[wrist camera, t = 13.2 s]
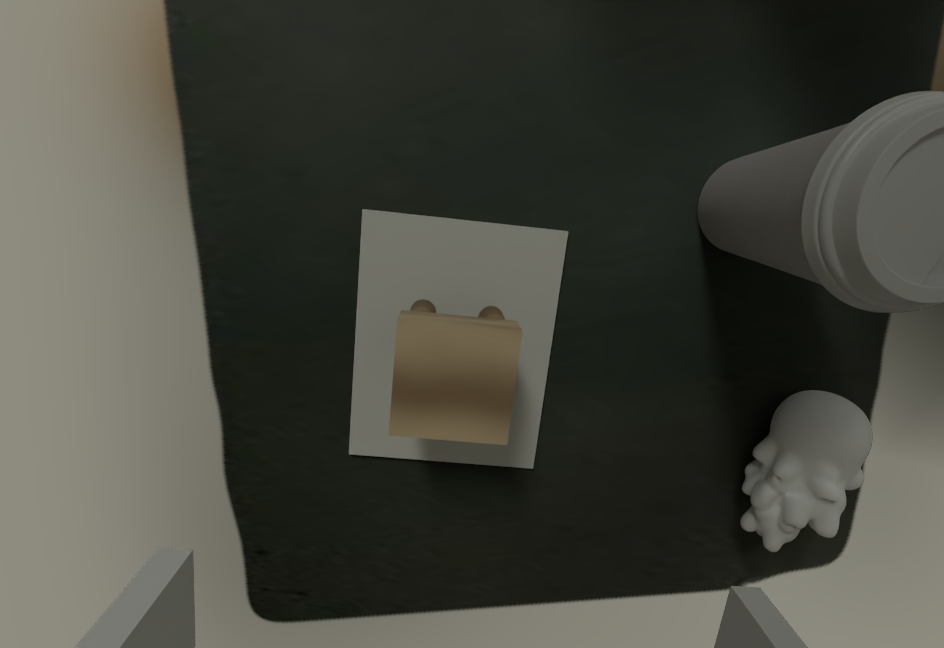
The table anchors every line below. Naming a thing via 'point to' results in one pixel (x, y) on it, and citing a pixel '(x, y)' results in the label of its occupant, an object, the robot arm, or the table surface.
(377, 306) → the mat
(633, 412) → the table surface
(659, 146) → the table surface
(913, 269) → the coffee cup
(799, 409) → the figurine
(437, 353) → the wooden stool
